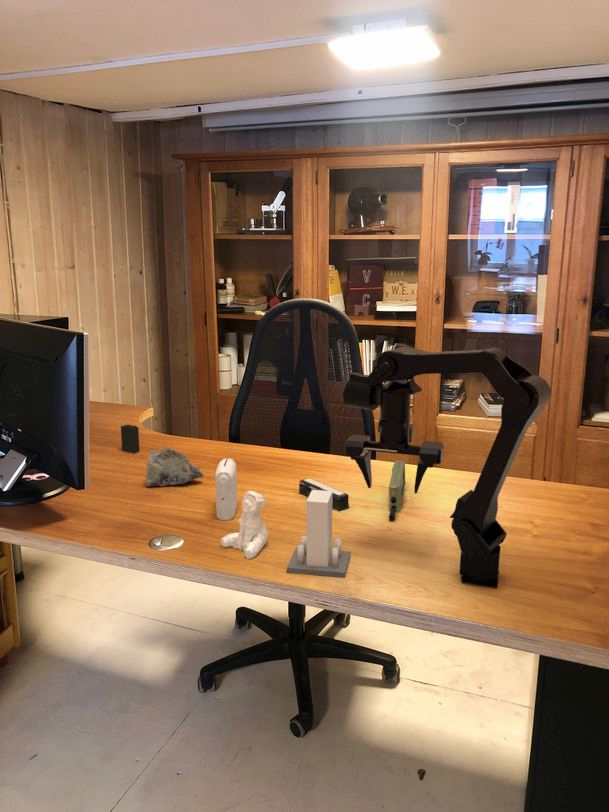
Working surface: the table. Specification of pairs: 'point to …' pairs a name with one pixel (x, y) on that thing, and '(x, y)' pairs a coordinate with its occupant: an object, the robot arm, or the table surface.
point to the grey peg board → (334, 569)
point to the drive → (319, 528)
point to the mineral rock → (169, 468)
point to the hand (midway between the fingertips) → (392, 490)
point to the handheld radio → (396, 488)
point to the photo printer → (226, 489)
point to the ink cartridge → (130, 438)
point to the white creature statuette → (249, 527)
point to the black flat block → (338, 497)
